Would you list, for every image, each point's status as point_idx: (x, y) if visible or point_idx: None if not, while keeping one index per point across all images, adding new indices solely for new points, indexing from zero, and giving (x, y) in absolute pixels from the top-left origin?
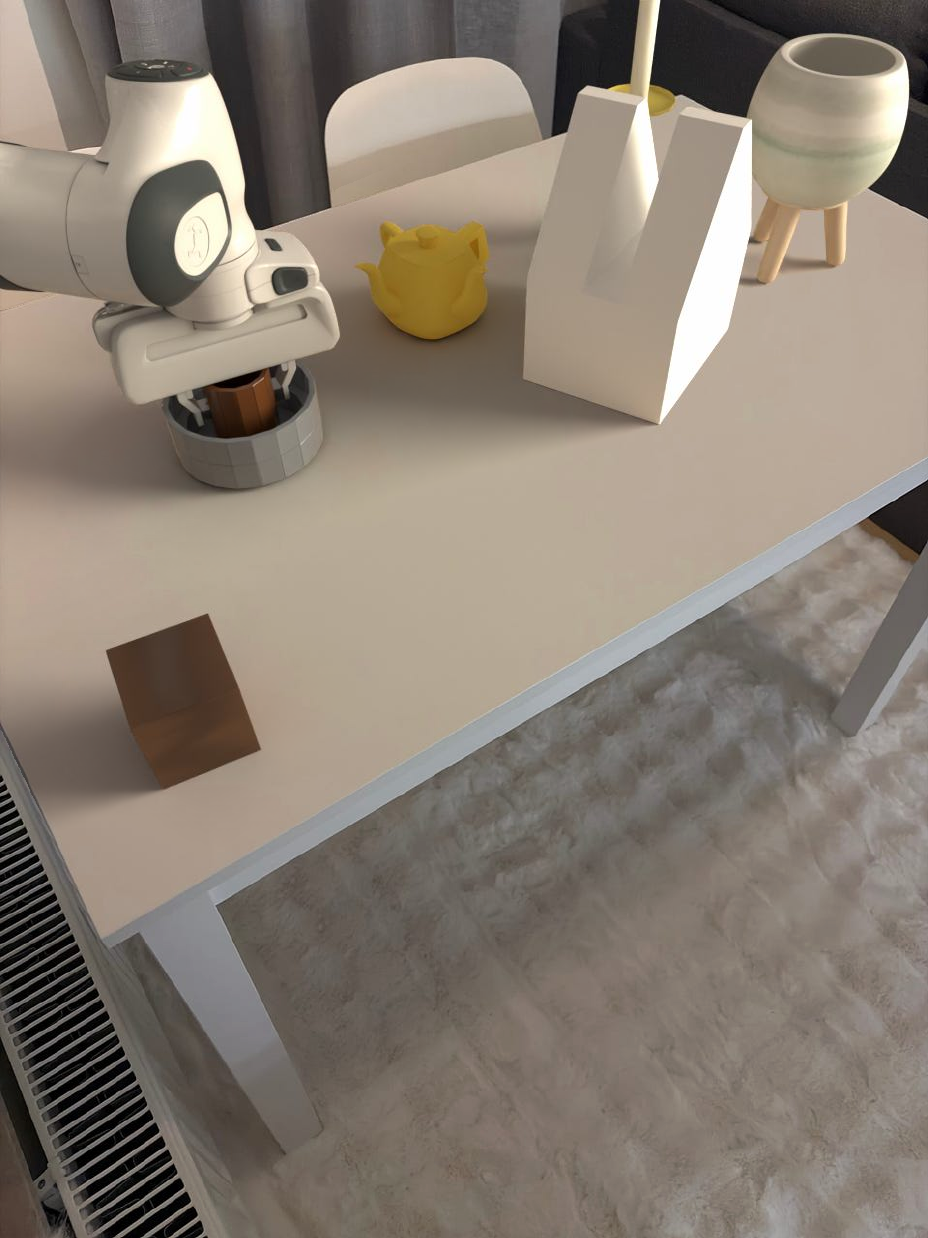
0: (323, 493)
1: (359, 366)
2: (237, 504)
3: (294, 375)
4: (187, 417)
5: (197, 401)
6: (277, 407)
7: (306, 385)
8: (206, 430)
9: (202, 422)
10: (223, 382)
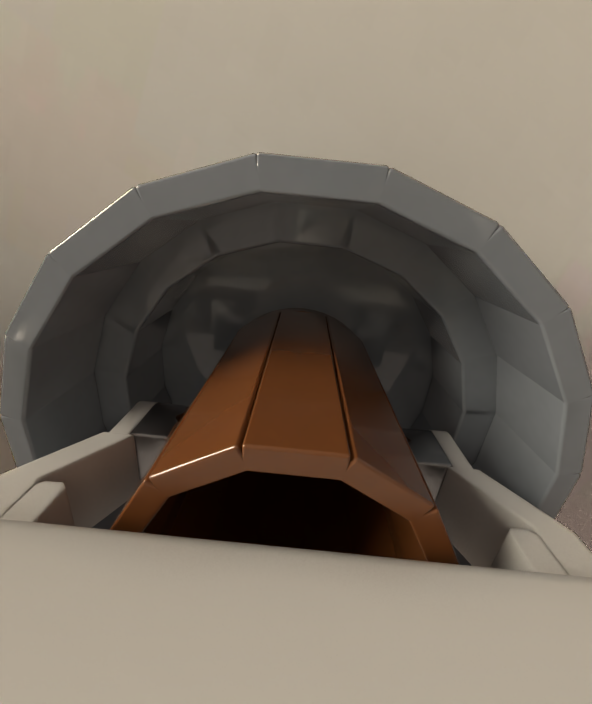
0: (206, 71)
1: (9, 464)
2: (432, 181)
3: None
4: None
5: None
6: None
7: (72, 423)
8: None
9: (437, 435)
10: (307, 544)
